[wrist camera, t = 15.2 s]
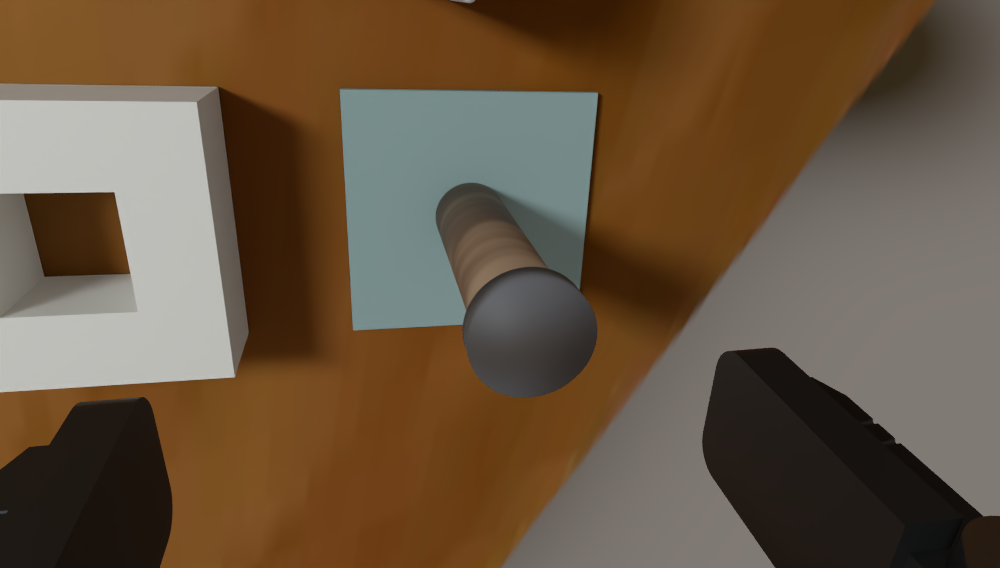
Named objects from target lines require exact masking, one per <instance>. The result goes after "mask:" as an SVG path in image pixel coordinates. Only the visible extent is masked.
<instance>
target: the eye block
mask: <svg viewBox="0 0 1000 568" xmlns="http://www.w3.org/2000/svg"><path fill="white" fill-rule="evenodd" d="M87 192H115V197H116V202H117V207H118V213H119V218H120V223H121V228H122V233H123V238H124V243H125V248H126V253H127V258H128V263H129V268H130V274H110V275H81V276H53V277H44V273H43V269H42V265H41V261H40V257H39V253H38V249H37V246H36V242H35V238H34V234H33V230H32V226H31V222H30V218H29V214H28V210H27V206H26V202H25V198H24V194H23V193H87ZM248 334H249V330H248V322H247V314H246V306H245V298H244V290H243V282H242V274H241V266H240V258H239V250H238V242H237V234H236V226H235V218H234V210H233V202H232V194H231V186H230V178H229V170H228V162H227V154H226V146H225V138H224V130H223V122H222V114H221V106H220V98H219V90H218V87H199V86H127V85H55V84H0V392H11V391H27V390H42V389H58V388H74V387H89V386H105V385H121V384H136V383H152V382H168V381H183V380H199V379H215V378H230V377H235V375H236V372H237V369H238V365H239V362H240V359H241V356H242V353H243V350H244V347H245V343H246V340H247V337H248Z"/></svg>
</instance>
